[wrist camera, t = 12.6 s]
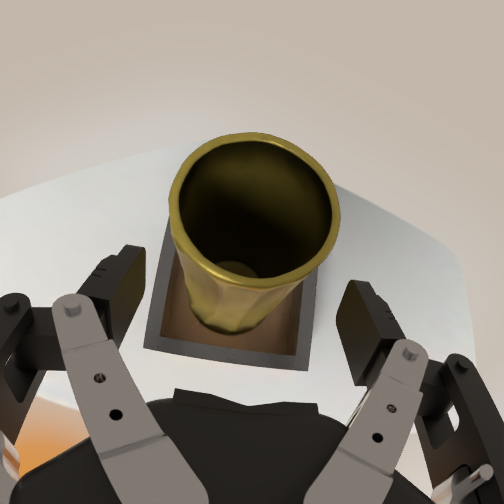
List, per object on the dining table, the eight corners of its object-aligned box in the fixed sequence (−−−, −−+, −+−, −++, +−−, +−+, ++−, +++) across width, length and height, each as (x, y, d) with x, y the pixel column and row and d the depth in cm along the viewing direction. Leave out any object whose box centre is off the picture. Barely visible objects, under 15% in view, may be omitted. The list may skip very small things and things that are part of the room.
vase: (207, 239, 24) (205, 100, 10) (284, 269, 24) (369, 162, 10) (174, 315, 22) (116, 254, 8) (256, 347, 22) (325, 337, 8)
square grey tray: (154, 348, 22) (143, 347, 18) (179, 219, 25) (174, 196, 21) (292, 368, 23) (307, 371, 19) (305, 239, 26) (320, 220, 22)
